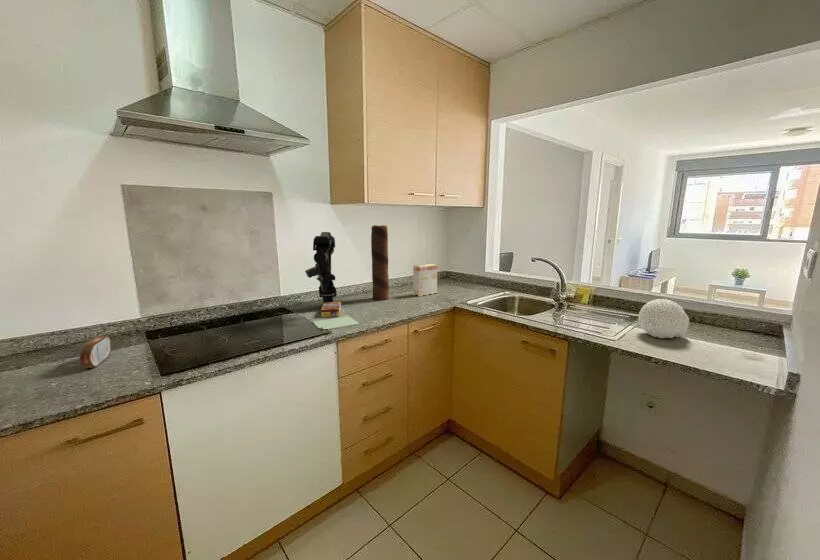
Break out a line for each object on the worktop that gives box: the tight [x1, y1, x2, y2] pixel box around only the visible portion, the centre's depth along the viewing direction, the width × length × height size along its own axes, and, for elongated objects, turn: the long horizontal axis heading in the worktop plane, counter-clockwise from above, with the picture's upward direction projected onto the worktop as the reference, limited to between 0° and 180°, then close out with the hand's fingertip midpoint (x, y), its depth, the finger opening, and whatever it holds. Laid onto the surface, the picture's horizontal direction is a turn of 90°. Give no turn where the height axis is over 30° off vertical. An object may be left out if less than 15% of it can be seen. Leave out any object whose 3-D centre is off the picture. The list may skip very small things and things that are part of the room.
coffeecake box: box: [412, 263, 438, 297], centre depth 213 cm, size 15×7×20 cm, turn 124°
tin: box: [79, 335, 112, 369], centre depth 109 cm, size 15×3×8 cm, turn 22°
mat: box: [312, 315, 360, 331], centre depth 153 cm, size 14×18×1 cm
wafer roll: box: [370, 224, 390, 301], centre depth 198 cm, size 10×11×45 cm
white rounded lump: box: [637, 298, 690, 339], centre depth 137 cm, size 20×18×16 cm
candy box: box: [320, 301, 342, 318], centre depth 170 cm, size 9×4×15 cm
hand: (324, 292), depth 165 cm, fingers closed
